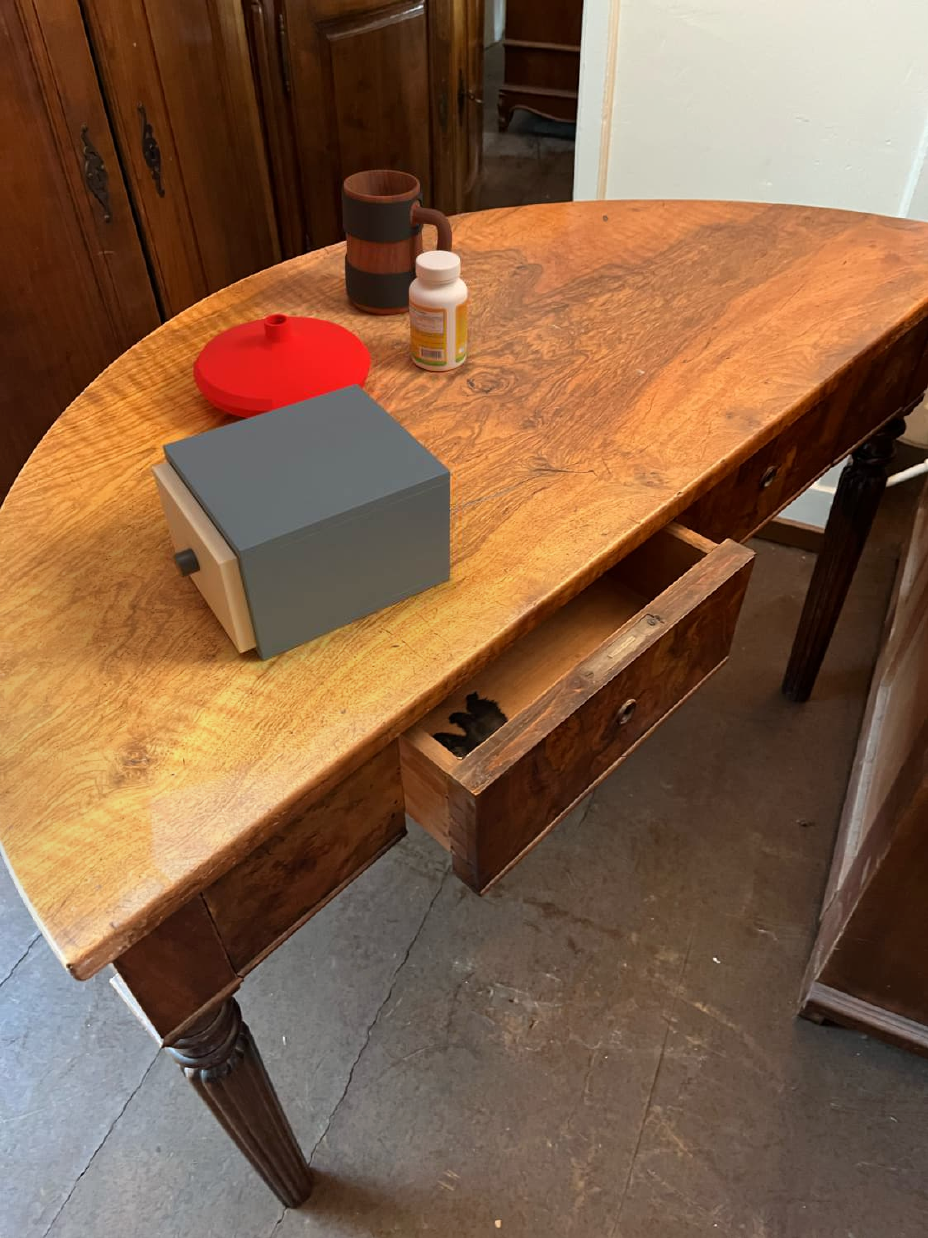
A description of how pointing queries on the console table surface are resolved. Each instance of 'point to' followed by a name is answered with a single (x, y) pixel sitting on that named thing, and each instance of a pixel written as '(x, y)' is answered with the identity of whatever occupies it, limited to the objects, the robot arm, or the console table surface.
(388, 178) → the mug
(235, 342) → the red squat vase
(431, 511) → the cabinet
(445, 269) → the supplement bottle
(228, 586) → the drawer
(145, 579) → the console table surface
